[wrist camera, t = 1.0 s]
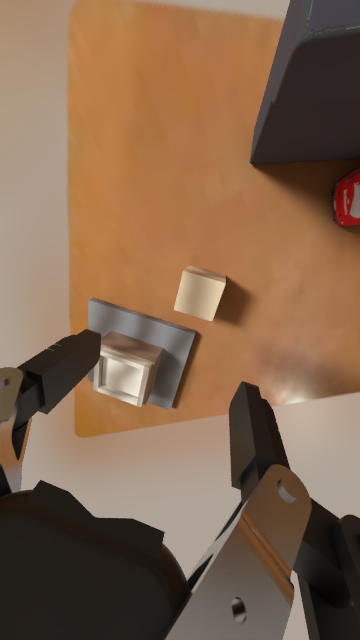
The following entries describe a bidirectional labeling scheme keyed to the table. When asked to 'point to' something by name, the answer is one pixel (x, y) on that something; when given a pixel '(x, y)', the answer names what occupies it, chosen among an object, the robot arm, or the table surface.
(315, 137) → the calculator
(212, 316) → the maple cube
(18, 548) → the robot arm
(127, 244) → the table surface
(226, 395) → the table surface
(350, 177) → the race car
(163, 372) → the plate
